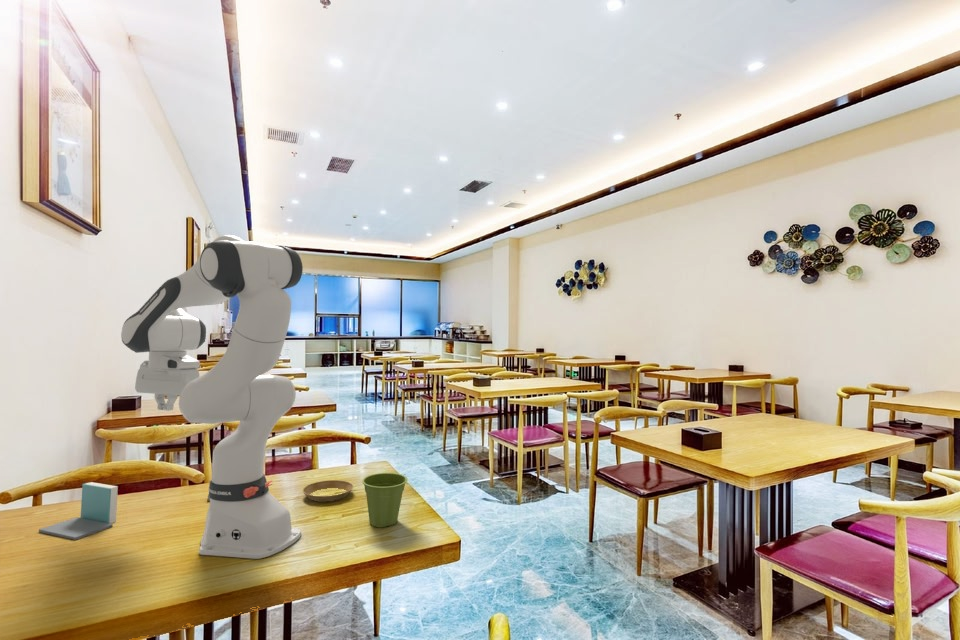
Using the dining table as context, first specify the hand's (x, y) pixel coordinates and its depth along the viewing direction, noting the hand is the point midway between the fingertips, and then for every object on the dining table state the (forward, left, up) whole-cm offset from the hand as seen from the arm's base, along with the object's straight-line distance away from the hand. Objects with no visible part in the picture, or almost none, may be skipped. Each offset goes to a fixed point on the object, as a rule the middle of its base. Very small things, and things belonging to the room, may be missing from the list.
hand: (165, 410), depth 127 cm
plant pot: (-64, -12, -27) cm, 71 cm away
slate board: (+5, +18, -27) cm, 33 cm away
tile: (+6, +12, -27) cm, 30 cm away
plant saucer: (-38, -24, -28) cm, 53 cm away
